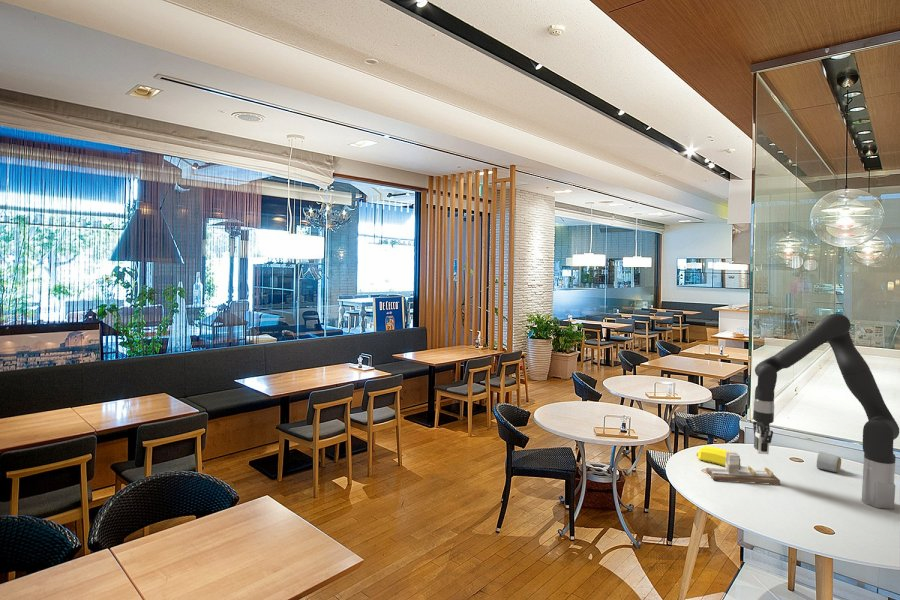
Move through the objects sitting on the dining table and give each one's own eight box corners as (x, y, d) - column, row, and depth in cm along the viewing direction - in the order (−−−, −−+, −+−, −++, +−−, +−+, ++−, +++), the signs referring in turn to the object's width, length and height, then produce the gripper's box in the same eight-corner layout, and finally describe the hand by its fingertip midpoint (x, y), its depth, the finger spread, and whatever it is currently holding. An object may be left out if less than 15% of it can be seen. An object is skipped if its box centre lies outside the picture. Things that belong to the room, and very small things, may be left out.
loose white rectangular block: (768, 454, 216) (769, 435, 216) (757, 453, 217) (758, 435, 217) (764, 450, 220) (765, 432, 220) (753, 450, 221) (754, 432, 221)
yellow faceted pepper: (699, 455, 248) (693, 459, 242) (699, 442, 247) (693, 446, 242) (740, 465, 235) (735, 470, 230) (741, 451, 235) (736, 455, 229)
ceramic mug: (838, 475, 225) (839, 457, 224) (815, 469, 230) (816, 453, 230) (842, 469, 232) (843, 452, 232) (820, 464, 238) (821, 447, 237)
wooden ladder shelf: (779, 484, 214) (780, 459, 213) (713, 480, 218) (714, 456, 217) (769, 476, 223) (770, 452, 222) (706, 472, 227) (706, 448, 226)
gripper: (781, 415, 210) (779, 456, 211) (765, 406, 224) (763, 444, 225) (761, 414, 211) (759, 454, 212) (747, 405, 225) (745, 443, 226)
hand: (761, 449), depth 219 cm, fingers closed on loose white rectangular block, 4 cm apart
